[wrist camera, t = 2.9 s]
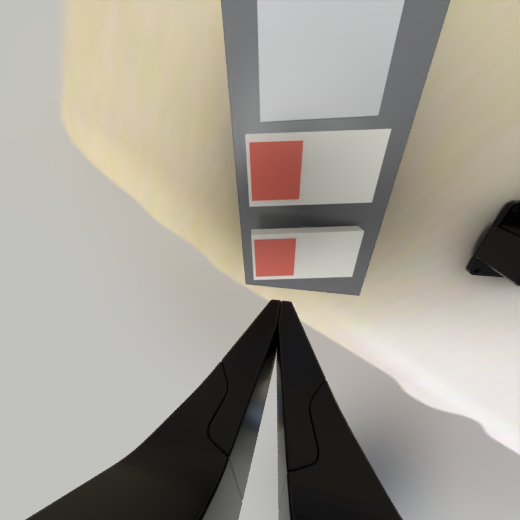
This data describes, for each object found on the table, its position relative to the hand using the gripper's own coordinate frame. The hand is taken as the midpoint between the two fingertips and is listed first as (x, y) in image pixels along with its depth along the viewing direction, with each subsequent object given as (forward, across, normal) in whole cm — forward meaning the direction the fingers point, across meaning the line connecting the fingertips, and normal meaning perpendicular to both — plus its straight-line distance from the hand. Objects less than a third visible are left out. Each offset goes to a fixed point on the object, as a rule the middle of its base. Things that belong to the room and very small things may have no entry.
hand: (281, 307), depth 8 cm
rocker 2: (+8, -1, +2) cm, 8 cm away
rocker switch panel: (+12, -1, -3) cm, 13 cm away
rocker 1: (+8, -1, -4) cm, 9 cm away
